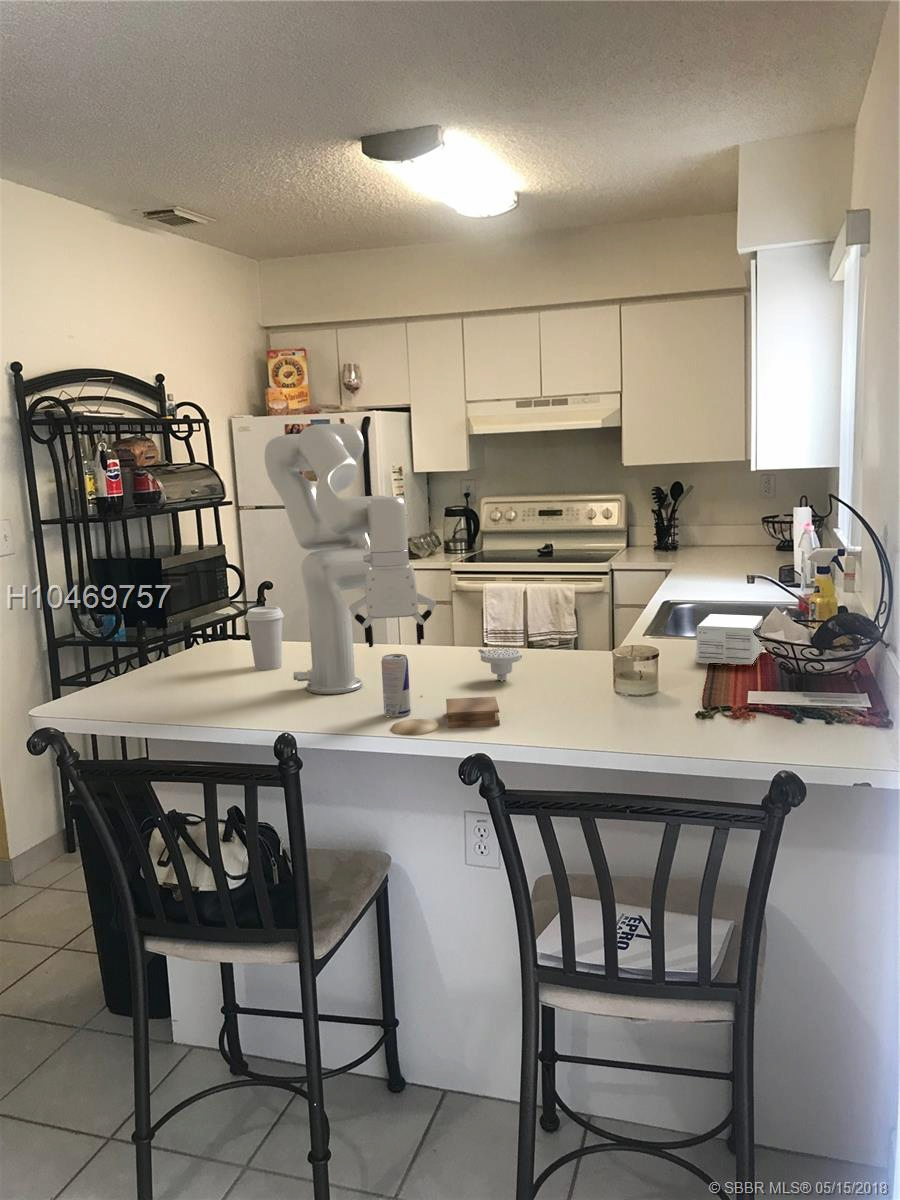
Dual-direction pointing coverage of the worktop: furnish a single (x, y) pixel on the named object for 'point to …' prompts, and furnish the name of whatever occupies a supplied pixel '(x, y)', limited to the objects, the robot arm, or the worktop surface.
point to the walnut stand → (472, 712)
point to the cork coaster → (415, 727)
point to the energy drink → (395, 685)
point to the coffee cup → (266, 636)
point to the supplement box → (728, 639)
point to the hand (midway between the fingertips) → (395, 644)
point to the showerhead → (501, 660)
